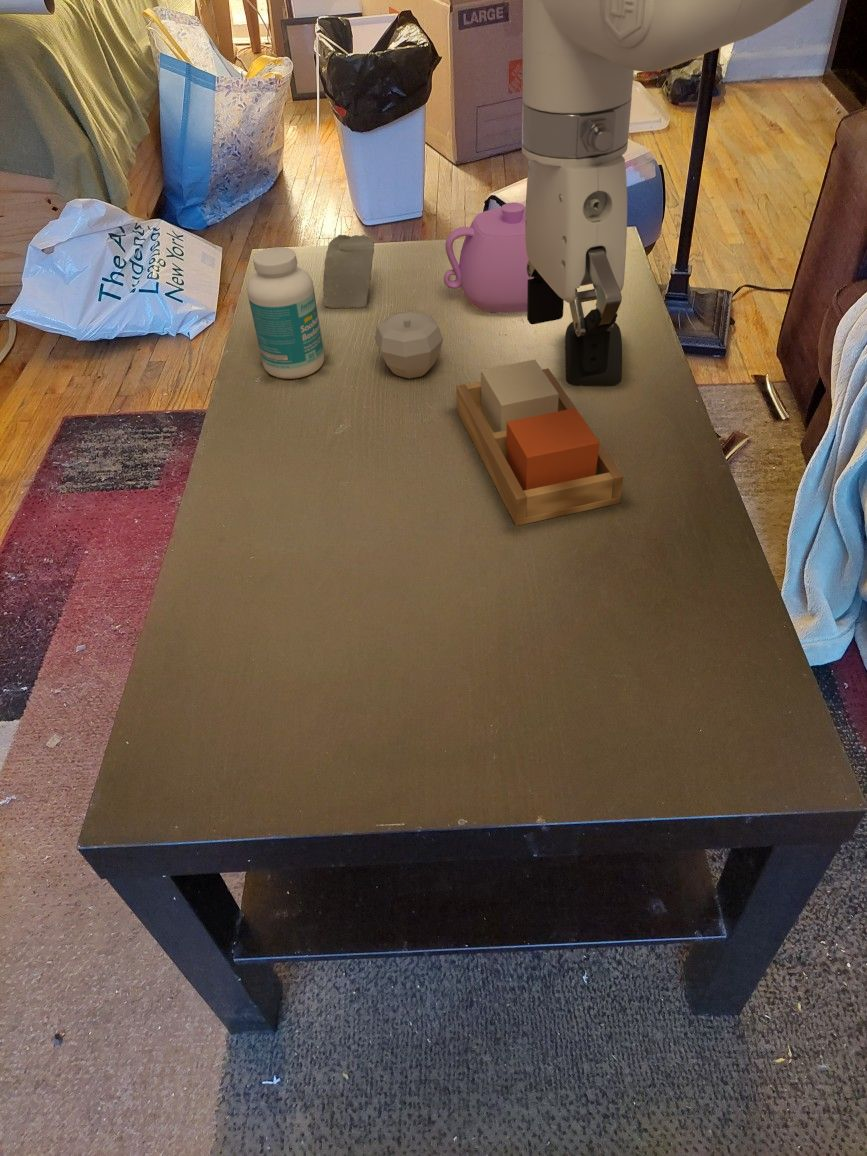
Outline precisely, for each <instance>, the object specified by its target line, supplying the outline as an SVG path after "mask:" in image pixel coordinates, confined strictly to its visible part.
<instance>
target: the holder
mask: <svg viewBox="0 0 867 1156" xmlns="http://www.w3.org/2000/svg"><path fill="white" fill-rule="evenodd" d="M541 369H542V370H543V372H544V373H545V375H546V376H547V378H548V379H549V381H550V382H551V383H552V385H553V386H554V388H555V389H556V391H557V392H558V394H559V398H558V411H563V410H568V409H573V408H575V409H576V410H577V412H578V413H579V414H580V416H581V417H582V419H583V420H584V422H585V423H586V424H587V426H588V427H589V429H590V430H591V432H592V433H593V435H594V436H595V437H596V439H597V440H598V442H599V449H598V459H597V468H596V475H595V476H590V477H585V478H581V479H576V480H571V481H566V482H562V483H557V484H552V485H548V486H543V487H538V488H534V489H529V490H524V491H523V489H522V488H521V486H520V484H519V482H518V480H517V479H516V477H515V475H514V473H513V471H512V469H511V468H510V466H509V464H508V462H507V460H506V430H505V431H500V432H496V433H494V432H493V430H492V428H491V427H490V425H489V423H488V421H487V419H486V417H485V416H484V414H483V412H482V410H481V380H479V381H475V382H469V383H465V384H459V385H455V392H456V412H457V414H458V416H459V418H460V420H461V422H462V424H463V426H464V427H465V429H466V431H467V434H468V435H469V437H470V439H471V441H472V443H473V445H474V447H475V449H476V451H477V453H478V455H479V457H480V459H481V460H482V463H483V465H484V466H485V468H486V471H487V473H488V475H489V476H490V478H491V480H492V483H493V484H494V486H495V488H496V490H497V492H498V494H499V496H500V498H501V500H502V502H503V504H504V505H505V508H506V510H507V512H508V513H509V516H510V517H511V519H512V521H513V523H514V524H515V527H517V526H523V525H527V524H531V523H537V522H541V521H545V520H550V519H554V518H559V517H564V516H568V515H572V514H577V513H581V512H585V511H586V512H587V511H590V510H596V509H600V508H604V507H609V506H613V505H619V504H621V501H622V492H623V487H624V485H623V484H624V478H625V475H624V474H623V472H622V471H621V470H620V469H619V466H618V465H617V464H616V463H615V461H614V460H613V459H612V457H611V455H610V454H609V453H608V451H607V450H606V448H605V447H604V445H603V444H602V442H601V441H600V440H599V438H598V437H597V436H596V434H595V433H594V431H593V430H592V428H591V427H590V426H589V423H587V421H586V419H585V418H584V417H583V416H582V414H581V412H580V411H579V410H578V408H577V407H576V405H575V404H574V402H573V401H572V399H570V397H569V395H568V394H567V393H566V391H565V390H564V388H563V387H562V386H561V384H560V382H559V381H558V379H557V378H556V377H555V375H554V374H553V373H552V371H551V369H549V367H547V368H541Z"/></svg>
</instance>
